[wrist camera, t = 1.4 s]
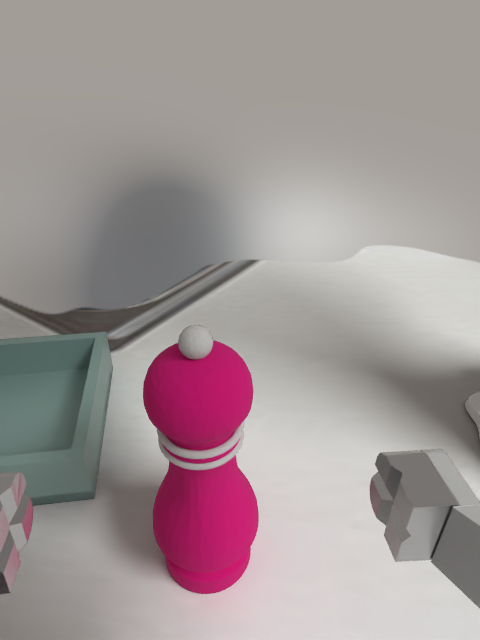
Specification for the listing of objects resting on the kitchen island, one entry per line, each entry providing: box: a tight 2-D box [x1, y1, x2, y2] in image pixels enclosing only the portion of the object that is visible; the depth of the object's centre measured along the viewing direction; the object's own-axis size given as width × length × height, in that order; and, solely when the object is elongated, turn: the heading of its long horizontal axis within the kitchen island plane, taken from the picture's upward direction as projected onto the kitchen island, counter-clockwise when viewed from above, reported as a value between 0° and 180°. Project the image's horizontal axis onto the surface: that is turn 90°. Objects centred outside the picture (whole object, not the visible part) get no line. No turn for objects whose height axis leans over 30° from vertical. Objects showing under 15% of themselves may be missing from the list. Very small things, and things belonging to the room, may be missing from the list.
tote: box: [0, 332, 113, 506], centre depth 42 cm, size 17×17×5 cm
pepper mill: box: [143, 325, 258, 594], centre depth 28 cm, size 7×7×20 cm
